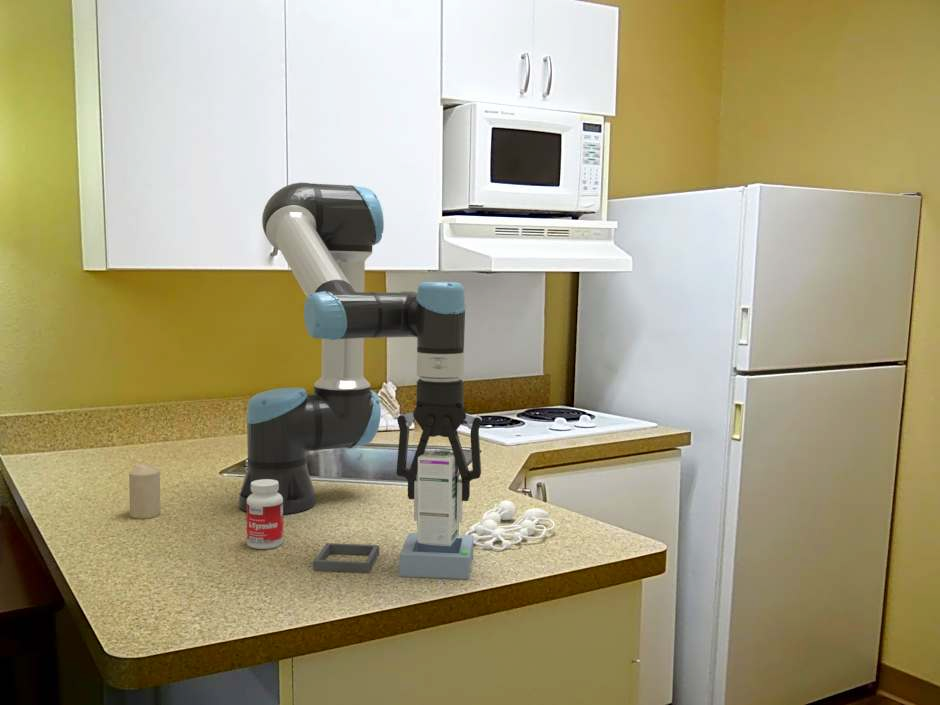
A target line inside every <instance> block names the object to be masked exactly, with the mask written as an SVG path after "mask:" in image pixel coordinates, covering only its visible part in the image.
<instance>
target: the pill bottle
mask: <svg viewBox="0 0 940 705" xmlns="http://www.w3.org/2000/svg"><path fill="white" fill-rule="evenodd" d="M278 490H279V484H278V481H276V480H272V479H262V480H255V481H253V482H251V491H252V492H253V493H252V494H251V495H249V497H248V498H247V512H246V545H247V546H248V547H249V548H252V549H256V550H269V549H270V550H271V549H276V548H277V547H279V546H281V545H282V544H283V542H284V514H283V497H282V496H281V495H280V494H279V493H277V491H278Z"/></svg>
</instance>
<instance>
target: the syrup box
mask: <svg viewBox="0 0 940 705" xmlns="http://www.w3.org/2000/svg"><path fill="white" fill-rule="evenodd" d="M417 477H418V499H417V501H418V503H417V504H418V506H417V508H418V509H417V512H418V513H417V521H416V522H417V526H416V527H417V528H416V529H417V530H416V533H417V542H418V543H421V544H428V545H439V546H451V544H452V543H453V542H454V541H455V539H456V538H457V536H458V535H460V532H459V527H460V526H459V524H460V523H459V522H457V482H458V479H460V472H459V469H458V466H457V463H456V460H455V456H454V453H453V450H452V449H444V448H443V449H442V448H431V449H430V448H429V449H428V448H426V449H425V452H424V454H423V455H421V456H419V457H418V472H417Z"/></svg>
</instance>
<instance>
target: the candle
mask: <svg viewBox="0 0 940 705" xmlns="http://www.w3.org/2000/svg"><path fill="white" fill-rule="evenodd" d="M160 473H161V470H160V469H159V468H157V467H156V466H155V465H153V464H148V463H142V462H139V463H137V464H136V465H134V466H133V468H132V469H131V470H130V471H128V483H129V485H128V488H129V490H128V491H129V515H130V516H129V517H130V518H132V519H135V520H136V519H139V520H143V519H151V518H155V517H158V516H160V515H161V478H160V477H161V474H160Z"/></svg>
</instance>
